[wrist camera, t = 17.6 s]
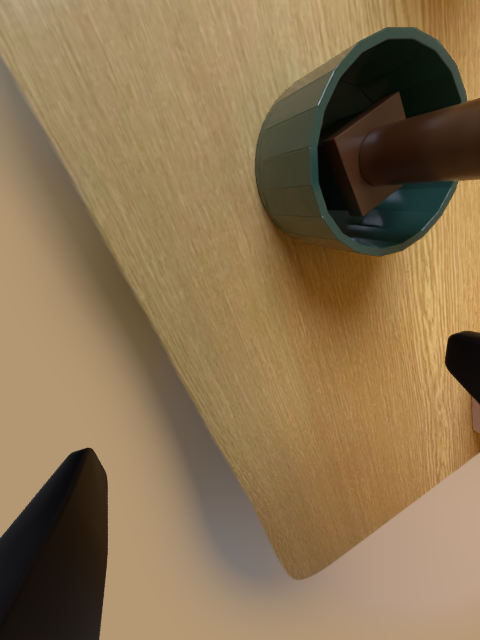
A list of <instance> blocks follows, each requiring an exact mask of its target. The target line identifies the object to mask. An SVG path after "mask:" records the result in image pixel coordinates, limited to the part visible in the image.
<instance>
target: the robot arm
mask: <svg viewBox="0 0 480 640" xmlns="http://www.w3.org/2000/svg"><path fill="white" fill-rule="evenodd" d="M445 365H446V367H447V369H448V371H449V372H450V373H451V374H452V375H453V376H454V377H455V378H456V379H457V381H458V382H459V383H460V384H461V385H462V386H463V387H464V388H465V389H466V390H467V391H468V393H469V394H470V395H471V396H472V397H473V398H474V399H475V400H476V401H477V402H478V404H479V405H480V333H478V332H472V331H462V332H459V333H456V334H453V335H451V336H450V337H449V338H448V342H447V349H446V357H445ZM107 484H108V483H107V476H106V472H105V470H104V468H103V466H102V465H101V463H100V461H99V459H98V457H97V455H96V454H95V452H94V451H93V449H91V448H85V449H82V450H79V451H75V452H73V453H71V454H70V455H69V456H68V457H67V458H66V459H65V460H64V462H63V463H62V464H61V465H60V466H59V468H58V469H57V470H56V471H55V473H54V474H53V475H52V476H51V477H50V479H49V480H48V481H47V482H46V484H45V485H44V486H43V487H42V488H41V489H40V491H39V492H38V493H37V494H36V495H35V497H34V498H33V499H32V500H31V502H30V503H29V504H28V505H27V506H26V508H25V509H24V510H23V512H21V514H20V515H19V516H18V517H17V519H16V520H15V521H14V522H13V523H12V525H11V526H10V527H9V528H8V529H7V531H6V532H5V533H4V534H3V535H2V537H1V538H0V640H99V636H100V626H101V617H102V607H103V597H104V587H105V578H106V568H107V555H108V497H107V495H108V485H107Z"/></svg>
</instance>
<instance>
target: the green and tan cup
mask: <svg viewBox="0 0 480 640" xmlns="http://www.w3.org/2000/svg"><path fill="white" fill-rule="evenodd" d="M395 92H399V93H400V97H401V101H402V105H403V109H404V113H405V117H406V119H407V118H411V117H414V116H418V115H421V114H425V113H428V112H432V111H436V110H439V109H443V108H446V107H450V106H453V105H457V104H460V103H464V102H467V95H466V91H465V88H464V85H463V82H462V79H461V76H460V73H459V70H458V68H457V65H456V63H455V62H454V60H453V59H452V58H451V56H450V55H449V54H448V52H447V51H446V49H445V48H444V47H443V45H442V44H441V43H440V41H438V40H437V39H435V38H433V37H432V36H430V35H428V34H426V33H424V32H423V31H421V30H419V29H417V28H415V27H387V28H384V29H382V30H380V31H378V32H376V33H374V34H372V35H370V36H369V37H367V38H365V39H363V40H361V41H359V42H357V43H356V44H354V45H353V46H351V47H349V48H348V49H346V50H345V51H343V52H342V53H340V54H338V55H337V56H335V57H334V58H332V59H331V60H329V61H327V62H326V63H324V64H323V65H321V66H320V67H318V68H316V69H315V70H313V71H312V72H310V73H309V74H307V75H305V76H304V77H302V78H301V79H299V80H298V81H296V82H295V83H293V84H292V85H291V86H290V87H289V88H288V89H287V90H286V91H284V92H283V93H282V94H281V96H280V97H279V98H278V99H277V100H276V101H275V103H274V104H273V106H272V107H271V109H270V110H269V112H268V114H267V116H266V118H265V120H264V123H263V125H262V128H261V131H260V134H259V139H258V143H257V149H256V158H255V171H256V181H257V186H258V190H259V194H260V197H261V200H262V203H263V205H264V207H265V209H266V211H267V213H268V214H269V216H270V218H271V219H272V221H273V222H274V223H275V224H276V225H277V226H278V228H280V229H281V230H282V231H283V232H284V233H285V234H287V235H288V236H290V237H291V238H293V239H296V240H298V241H301V242H303V243H307V244H312V245H317V246H322V247H327V248H333V249H338V250H343V251H348V252H353V253H359V254H366V255H372V256H384V255H388V254H392V253H396V252H399V251H402V250H404V249H406V248H407V247H409V246H410V245H412V244H413V243H415V242H416V241H418V240H419V239H421V238H422V237H423V236H425V234H426V233H427V232H428V231H429V230H430V229H431V227H432V226H433V225H434V224H435V223H436V222H437V221H438V219H439V218H440V217H441V216H442V214H443V212H444V210H445V209H446V207H447V205H448V203H449V201H450V200H451V198H452V196H453V194H454V192H455V190H456V188H457V184H458V181H449V182H434V183H419V184H404V185H403V186H402V187H401V188H399V189H398V190H397V191H395V192H394V193H393V194H392V195H390V196H389V197H388V198H387V199H385V200H384V201H383V202H381V203H380V204H379V205H378V206H376V207H375V208H374V209H372V210H371V211H370V212H369V213H367V214H366V215H365V216H364V217H353V216H350V215H349V212H348V211H342V210H327V207H326V204H325V201H324V198H323V195H322V191H321V188H320V185H319V176H318V152H317V147H318V142H319V137H320V133H322V132H323V131H324V130H326V129H327V128H328V127H330V126H331V125H333V124H334V123H335V122H337V121H338V120H339V119H341V118H343V117H346V116H349V115H352V114H354V113H357V112H360V111H363V110H365V109H368V108H369V107H370V106H372V105H373V104H374V103H376V102H377V101H378V100H380V99H381V98H383V97H385V96H387V95H390V94H393V93H395Z"/></svg>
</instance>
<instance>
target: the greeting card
mask: <svg viewBox="0 0 480 640" xmlns="http://www.w3.org/2000/svg"><path fill="white" fill-rule="evenodd" d="M472 421H473V430H475V431H476V432H478V433H480V405H479V404H478V402H477V401H476V400H475V399H474V398H473V397H472Z"/></svg>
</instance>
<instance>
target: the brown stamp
mask: <svg viewBox="0 0 480 640" xmlns="http://www.w3.org/2000/svg"><path fill="white" fill-rule="evenodd" d="M317 152H318V176H319V185H320V188H321V191H322V195H323V198H324V201H325V204H326V207H327V210H342V211H348V212H349V215H350V216H353V217H364V216H365V215H366V214H367V213H369V212H370V211H371V210H372V209H374V208H375V207H376V206H378V205H379V204H380V203H381V202H383V201H384V200H385V199H387V198H388V197H389V196H390V195H392V194H393V193H394V192H395V191H397V190H398V189H399V188H401V187H402V186H403V185H404V184H419V183H434V182H449V181H464V180H479V179H480V98H478V99H475V100H471V101H467V102H464V103H460V104H457V105H453V106H450V107H446V108H443V109H439V110H436V111H432V112H428V113H425V114H421V115H418V116H414V117H411V118H407V119H406V117H405V113H404V109H403V105H402V101H401V97H400V93H399V92H395V93H393V94H390V95H387V96H385V97H383V98H381V99H380V100H378V101H377V102H376V103H374V104H373V105H372V106H370V107H369V108H368V109H365V110H363V111H360V112H357V113H354V114H352V115H349V116H346V117H343V118H341V119H339V120H338V121H337V122H335V123H334V124H333V125H331V126H330V127H328V128H327V129H326V130H324V131H323V132H322V133H320V137H319V142H318V147H317Z"/></svg>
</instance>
